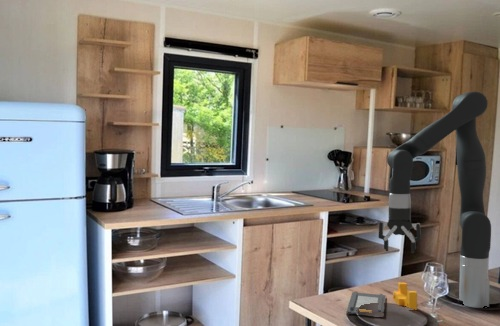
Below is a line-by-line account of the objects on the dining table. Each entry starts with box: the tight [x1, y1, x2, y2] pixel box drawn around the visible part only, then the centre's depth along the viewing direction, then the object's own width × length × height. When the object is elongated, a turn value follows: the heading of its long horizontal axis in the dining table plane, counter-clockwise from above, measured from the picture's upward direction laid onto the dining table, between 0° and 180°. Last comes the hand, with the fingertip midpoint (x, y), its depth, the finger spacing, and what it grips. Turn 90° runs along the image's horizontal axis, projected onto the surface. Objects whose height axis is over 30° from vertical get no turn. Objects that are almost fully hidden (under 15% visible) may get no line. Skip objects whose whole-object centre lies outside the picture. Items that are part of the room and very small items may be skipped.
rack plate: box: [346, 290, 386, 314], centre depth 164 cm, size 12×22×2 cm, turn 163°
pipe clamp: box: [392, 281, 418, 310], centre depth 166 cm, size 12×4×6 cm, turn 0°
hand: (399, 251), depth 166 cm, fingers open, 8 cm apart
